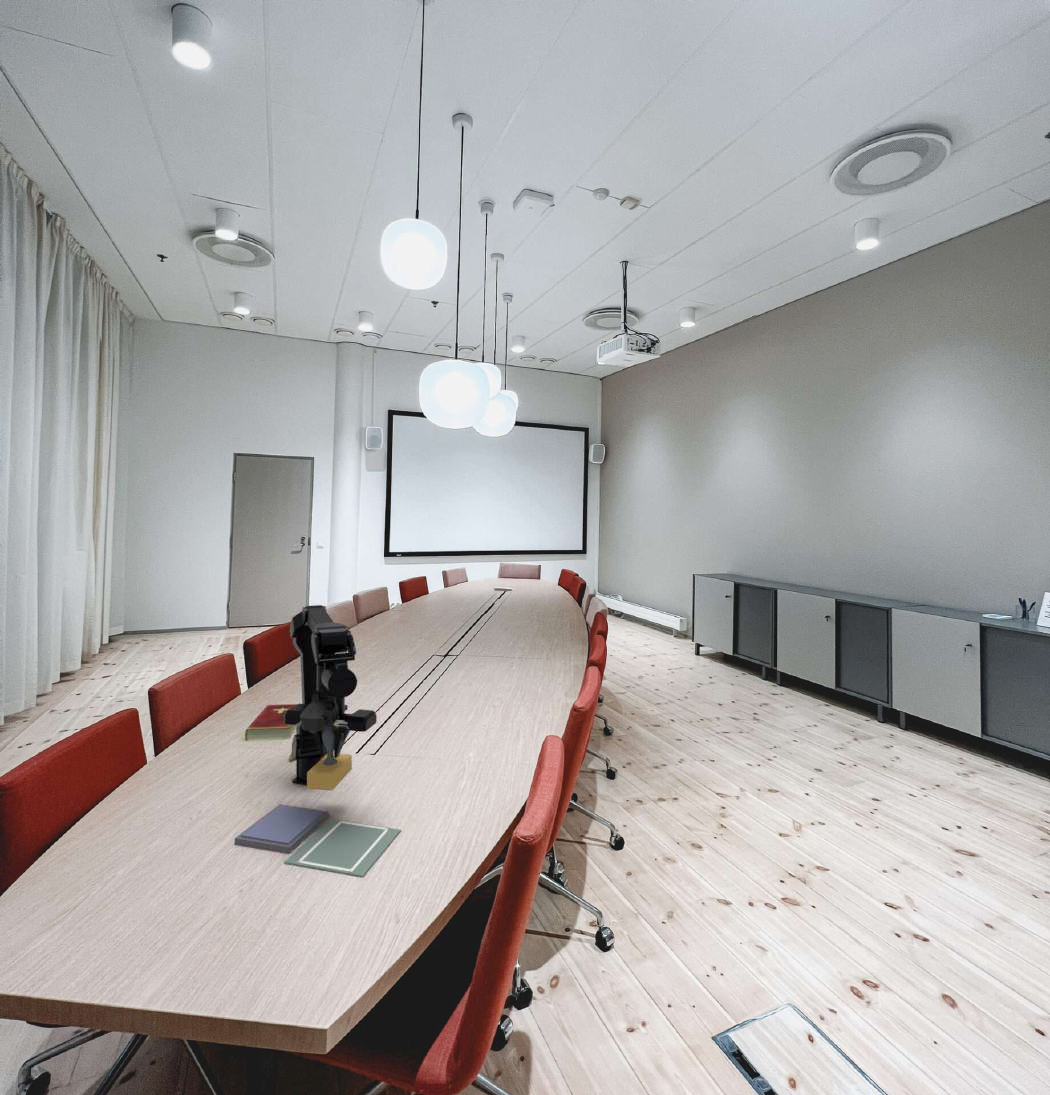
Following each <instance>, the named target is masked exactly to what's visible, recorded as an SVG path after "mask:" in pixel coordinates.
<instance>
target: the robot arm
mask: <svg viewBox="0 0 1050 1095" xmlns="http://www.w3.org/2000/svg"><path fill="white" fill-rule="evenodd" d="M289 636H290V639H292V646H293V647H294V648H295V650H296V651H297V652H298V654H299V655H300V656H299V657H300V677H301V678H300V679H301V680H300V681H301V682H300V683H301V703H296V704H297V705H295V706H294V707H292V708H290V709H288V710H287V711H286V712H285V714H284V724H290V725H297V724H298V725H297V727H296V728H295V730H296V731H295V734H294V735H293V739H292V741H291V752H292V755H293V757H294V759H295V760H294V761H295V762H296V765H295V766H296V767H295V770H296V773H295V777H294V778H293V779H292V780H291V782H292V783H293V784H294V783H296V784H302V785H307V772H308V771H309V770H310V769H311V768H312V767H314V766H315V765H316V764H317V763H318V762H319V761H320V760H321V759H322V758H323V757H324V756H325V755H326V754H327V750H326V748H325V745H324V743H323V740H322V732H323V730H324V729H325V728H326V726H327V725H329V724H332V725H333V724H334V723H335V722H338V727H337V728H335V729H334V730H332V731H333V733H334V735H335V743H334V752H333V753H334V757H335V758H337V757H338V756H339V754H341V752H342V749H343V747H344V744H345V742H346V740H347V738H348V736H349V733H350V732H360V733H361V732H362V733H364V732H367V731H369V729H370V728H372V727H374V726H375V725H376V723H377V713H376V712H375V711H374V710H372V709H371V710H370V709H362V708H361V709H359V708H358V709H357V710H356V711H355V712H353V713H347V712H346V711H347V710H348V704H345V703H346V702H345V701H346V698H347V697H348V696H351V695H352V694H353V693H354V692H355V690H356V688H357V686H358V678H357V676H356V674H355V673H354V672H353V671H352V670H351V669H350V668H349V666H348V662H349V661H356V655H357V654H356V653H357V649H356V644H355V641H354V636H353V634H352V632H351V630H349V628H348V626H346V625H345V624H343V623H340V622H334V620H333V619H332V617H331V616H330V615H329V613H328V612H327V607H326V605H322V604H320V605H319V604H315V605H305V606H303V607H302V609H301V611H300V612H299V613H297V614H295V615H294V616H293V617H292V618H291V621H290V625H289ZM345 712H346V713H345Z"/></svg>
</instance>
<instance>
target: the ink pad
mask: <svg viewBox="0 0 1050 1095" xmlns="http://www.w3.org/2000/svg"><path fill="white" fill-rule="evenodd" d="M329 818H330V811H327V810H319V809H314V808H308V807H301V806H300V807H299V806H295V805H286V804H282V803H281V804H278V805H277V806H275V807H274V808H273V809H271V810H270V811H269V812H267V813H266V814H265V815H264V816H262V817H261V818H260V819H258V820H257V821H256V822H254V823H253V824H251V825H250V826H249V827H247V828H246V829H245V830H244V831H242V832H241V833H239V834H238V835H237V836H236V837H235V838H234V845H237V846H242V847H243V846H244V847H249V848H256V849H260V850H267V851H272V852H277V851H278V853H283V852H284V853H285V854H290V853H292V852H291V851H292V850H293V851H294V850H295V849H296V848H297V847H298V846H299V845H301V842H302V841H303V842H304V841H305V840H306V839H307V838H308V837H310V836H311V834H313V833H314V831H316V830H317V829H319V827H320V826H322V825H323V823H325V822H326V821H327V820H328V819H329Z"/></svg>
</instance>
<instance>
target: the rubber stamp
mask: <svg viewBox="0 0 1050 1095" xmlns="http://www.w3.org/2000/svg"><path fill="white" fill-rule="evenodd" d="M335 728H337V727H336V726H335V725H332V724H329V725H327V726H326V728H325V729H324V730H323V732H322V740H323V743H324V745H325V748H326V750H327V754H326V755H325V756H324V757H323V758H322V759H321V760H320V761H319V762H318V763H317V764H316V765H315V766H314V767H312V768H311V769H310V770H309V771H308V772H307V784H306V787H307V789H308V790H315V791H316V790H319V791H333V790H334V789H335V788H336V787H337V786H338V785H339V784H340V783H341V782H342V781H343V780H344V778H345V777H346V776H347V775H348V774H349V773H350V772H351V771H352V768H353V767H352V764H353V760H352V759H353V758H352V754H350V753H349V754H347V753H340V754H339V756H338V757H337V758H335V757H334V743H335V735H334V733H333V731H332V730H334V729H335Z"/></svg>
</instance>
